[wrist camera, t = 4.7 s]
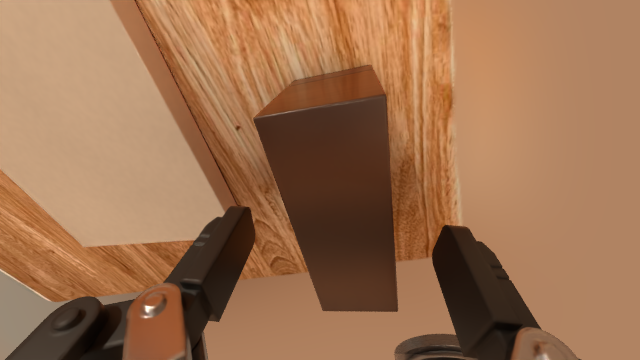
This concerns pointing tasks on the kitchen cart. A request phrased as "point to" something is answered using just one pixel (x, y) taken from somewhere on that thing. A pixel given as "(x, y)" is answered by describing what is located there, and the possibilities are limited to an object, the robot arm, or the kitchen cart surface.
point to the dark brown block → (337, 184)
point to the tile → (101, 125)
